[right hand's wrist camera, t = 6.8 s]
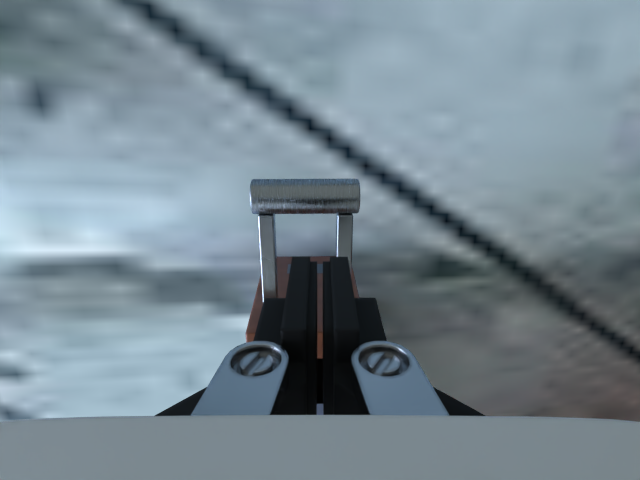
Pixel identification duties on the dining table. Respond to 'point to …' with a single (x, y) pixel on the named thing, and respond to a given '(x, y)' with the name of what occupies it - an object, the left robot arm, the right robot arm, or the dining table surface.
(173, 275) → the dining table surface
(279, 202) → the drawer
